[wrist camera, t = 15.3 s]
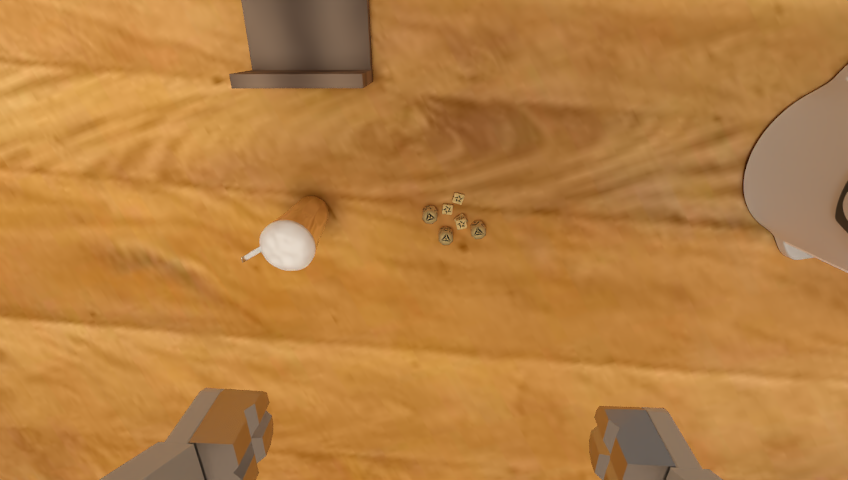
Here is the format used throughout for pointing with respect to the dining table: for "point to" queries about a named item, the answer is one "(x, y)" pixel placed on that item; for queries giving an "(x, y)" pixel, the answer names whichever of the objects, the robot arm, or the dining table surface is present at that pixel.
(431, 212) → the dice set
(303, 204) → the milkshake
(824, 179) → the robot arm
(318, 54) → the slot rack
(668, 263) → the dining table surface
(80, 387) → the dining table surface
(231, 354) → the dining table surface
